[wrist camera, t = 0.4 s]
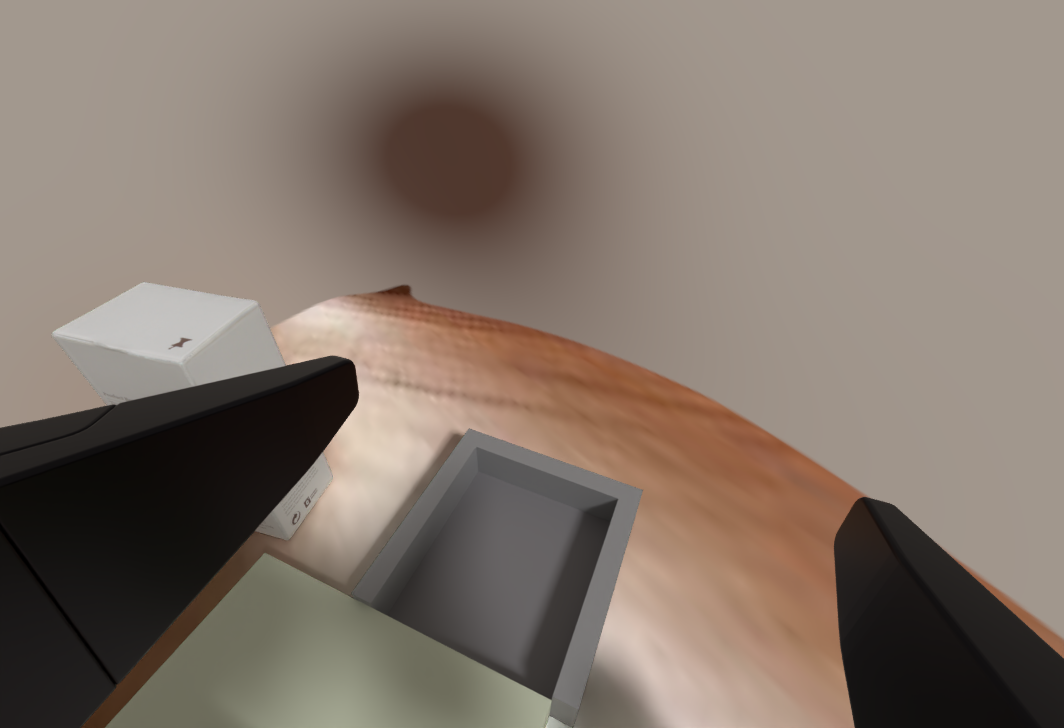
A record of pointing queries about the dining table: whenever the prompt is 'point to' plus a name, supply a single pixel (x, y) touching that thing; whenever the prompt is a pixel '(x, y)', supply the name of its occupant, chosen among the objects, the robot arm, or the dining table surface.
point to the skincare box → (183, 361)
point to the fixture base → (420, 613)
